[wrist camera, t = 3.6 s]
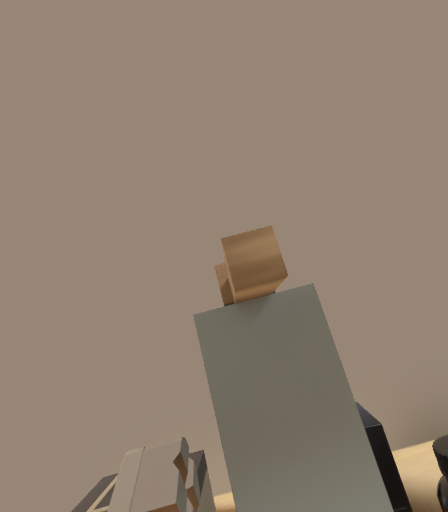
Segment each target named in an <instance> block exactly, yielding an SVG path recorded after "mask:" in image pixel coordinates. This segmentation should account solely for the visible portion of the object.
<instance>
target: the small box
mask: <svg viewBox="0 0 448 512" xmlns="http://www.w3.org/2000/svg"><path fill="white" fill-rule="evenodd" d="M355 403H356V406H357V409H358V411H359V414H360V417H361V420H362V423H363V426H364V429H365V431H366V434H367V437H368V440H369V443H370V446H371V448H372V451H373V454H374V457H375V460H376V463H377V465H378V468H379V471H380V474H381V477H382V480H383V483H384V485H385V488H386V491H387V494H388V497H389V500H390V502H391V505H392V508H393V511H394V512H413V511H412V508H411V506H410V503H409V500H408V497H407V494H406V492H405V489H404V486H403V483H402V480H401V478H400V475H399V472H398V469H397V466H396V463H395V461H394V458H393V455H392V452H391V450H390V447H389V444H388V441H387V438H386V435H385V432H384V430H383V427H382V424H381V423H380V422H379V421H378V420H377V419H375V418H374V417H373V416H372V415H371V414H370V413H369V412H367V411H366V410H365V409H364V408H363V407H362V406H361V405H360V404H359V403H357V402H355Z"/></svg>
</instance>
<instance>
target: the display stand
mask: <svg viewBox="0 0 448 512" xmlns="http://www.w3.org/2000/svg"><path fill="white" fill-rule="evenodd" d="M194 320H195V325H196V329H197V334H198V338H199V342H200V347H201V352H202V356H203V361H204V366H205V370H206V375H207V379H208V384H209V388H210V393H211V398H212V402H213V407H214V411H215V416H216V420H217V425H218V429H219V433H220V439H221V443H222V448H223V452H224V457H225V461H226V466H227V470H228V475H229V479H230V484H231V489H232V493H233V498H234V502H235V507H236V511H237V512H394V511H393V508H392V505H391V502H390V500H389V497H388V494H387V491H386V488H385V485H384V483H383V480H382V477H381V474H380V471H379V468H378V465H377V463H376V460H375V457H374V454H373V451H372V448H371V446H370V443H369V440H368V437H367V434H366V431H365V429H364V426H363V423H362V420H361V417H360V414H359V411H358V409H357V406H356V403H355V400H354V397H353V394H352V392H351V389H350V386H349V383H348V380H347V378H346V375H345V372H344V369H343V366H342V363H341V360H340V357H339V355H338V352H337V349H336V346H335V343H334V340H333V338H332V335H331V332H330V329H329V326H328V323H327V321H326V318H325V315H324V312H323V309H322V306H321V303H320V301H319V298H318V295H317V292H316V289H315V286H314V284H313V283H312V284H308V285H305V286H301V287H297V288H293V289H289V290H286V291H282V292H278V293H274V294H270V295H267V296H263V297H259V298H255V299H251V300H248V301H244V302H240V303H236V304H232V305H229V306H225V307H221V308H217V309H213V310H210V311H206V312H202V313H199V314H195V315H194Z"/></svg>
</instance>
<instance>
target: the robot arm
mask: <svg viewBox="0 0 448 512" xmlns="http://www.w3.org/2000/svg"><path fill="white" fill-rule="evenodd" d="M199 506H200V489H199V480H198V474H197V470H196V466H195V463H194V460H192V459H191V458H189V446H188V444H187V441H186V439H185V438H184V437H181V438H177V439H173V440H168V441H164V442H161V443H157V444H152V445H148V446H146V447H142V448H138V449H134V450H130V451H127V453H126V454H125V456H124V457H123V460H122V464H121V467H120V470H119V474H118V477H117V481H116V484H115V488H114V491H113V494H112V498H111V501H110V505H109V508H108V512H197V510H198V508H199Z"/></svg>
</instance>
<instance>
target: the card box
mask: <svg viewBox="0 0 448 512" xmlns="http://www.w3.org/2000/svg"><path fill="white" fill-rule="evenodd" d="M189 458H191V459H192V460H194V463H195V466H196V470H197V474H198V480H199V489H200V506H199V508H198V510H197V512H216V509H215V504H214V499H213V494H212V489H211V484H210V479H209V474H208V469H207V464H206V459H205V454H204V450H201V451H198V452H194V453H190V454H189ZM118 474H119V473H118ZM118 474H114V475H110V476H107V477H104V478H102V480H101V481H100V482H99V483H98V484H97V485H96V486H95V487H94V488H93V489H92V490H91V491H90V493H88V495H87V496H86V497H85V498H84V499H83V500H82V501H81V502H80V503H79V504H78V505H77V506H76V507H75V509H74V510H73V511H72V512H108V508H109V505H110V501H111V498H112V494H113V491H114V488H115V484H116V481H117V477H118Z"/></svg>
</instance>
